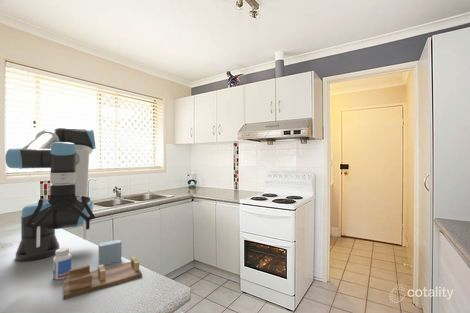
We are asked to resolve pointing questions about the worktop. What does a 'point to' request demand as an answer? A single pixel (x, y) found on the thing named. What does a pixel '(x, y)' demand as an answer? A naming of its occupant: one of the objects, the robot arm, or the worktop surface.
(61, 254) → the pill bottle
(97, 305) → the worktop surface
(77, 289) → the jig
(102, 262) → the block
